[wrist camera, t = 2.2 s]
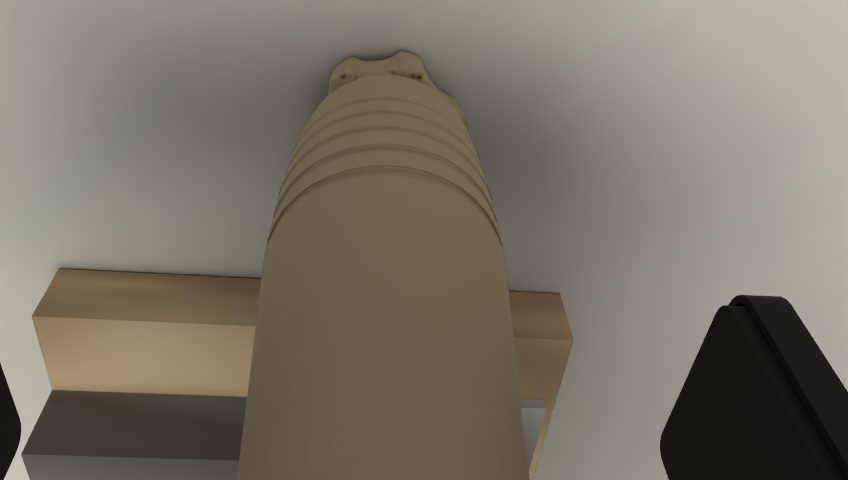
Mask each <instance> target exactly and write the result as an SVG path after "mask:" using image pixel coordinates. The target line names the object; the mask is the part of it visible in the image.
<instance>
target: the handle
mask: <svg viewBox="0 0 848 480" xmlns="http://www.w3.org/2000/svg"><path fill="white" fill-rule="evenodd" d="M328 88H329V91H328V94H327V97H326V98H325V99H324V100H323V101H322V102H321V103H320V104H319V105H318V106H317V108H316V109H315V111H314V113H313V115H312V116H311V118H310V119H309V121H308V123H307V124H306V126H305V127H304V129H303V131H302V133H301V135H300V138H299V140H298V142H297V144H296V147H295V149H294V152H293V154H292V157H291V160H290V163H289V165H288V168H287V171H286V174H285V178H284V180H283V183H282V186H281V189H280V192H279V197H278V200H277V204H276V208H275V212H274V217H273V222H272V225H271V230H270V234H269V238H268V244H267V248H266V252H265V257H264V262H263V269H262V278H261V286H260V294H259V303H258V311H257V319H256V327H255V336H254V344H253V352H252V361H251V369H250V377H249V386H248V394H247V402H246V411H245V419H244V427H243V435H242V442H241V450H240V457H239V465H238V472H237V480H530V478H529V470H528V461H527V453H526V445H525V436H524V428H523V419H522V409H521V400H520V391H519V382H518V373H517V363H516V354H515V345H514V336H513V327H512V317H511V308H510V299H509V290H508V281H507V271H506V264H505V258H504V252H503V249H502V243H501V238H500V234H499V230H498V226H497V221H496V216H495V212H494V207H493V204H492V200H491V195H490V192H489V189H488V186H487V183H486V179H485V176H484V173H483V170H482V167H481V164H480V160H479V157H478V155H477V152H476V149H475V147H474V144H473V142H472V139H471V137H470V134H469V132H468V130H467V125H466V121H465V119H464V116H463V114H462V111H461V109H460V107H459V105H458V103H457V102H456V100H455V98H454V97H453V96H451V95H448V94H445V93H443V92H442V91H441V90H439V89H438V88H437V87H436V86H435V85H434V84H433V83H432V81H431V80H430V78H429V77H428V75H427V73H426V71H425V68H424V65H423V62H422V60H421V58H420V57H419V56H416V55H414V54H412V53H408V52H404V51H400V52H398V53H397V54H396V55H395V56H392V57H390V58H387V59H383V60H378V61H364V60H359V59H358V58H355V57H350V58H348V59H347V60H345V61H343V62H342V63H341V64H339V65H338V66H337V67H336V68H335V70H334V71H333V73H332V75H331V78H330V81H329V84H328Z"/></svg>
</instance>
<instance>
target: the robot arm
mask: <svg viewBox="0 0 848 480" xmlns="http://www.w3.org/2000/svg"><path fill="white" fill-rule="evenodd" d="M20 437H21V423H20V418H19V415H18V413H17V410H16V407H15V404H14V401H13V398H12V395H11V393H10V390H9V387H8V384H7V381H6V378H5V375H4V373H3V370H2V367H1V364H0V480H4V478H5V475H6V473H7V471H8V469H9V467H10V464H11V462H12V460H13V458H14V456H15V453H16V451H17V448H18V446H19V442H20ZM660 452H661V458H662V461H663V464H664V467H665V470H666V473H667V475H668V478H669V480H848V392H847V390H846V388H845V387H844V385H843V384H842V382H841V381H840V379H839V378H838V376H837V375H836V373H835V372H834V370H833V368H832V367H831V365H830V364H829V362H828V361H827V359H826V358H825V356H824V355H823V353H822V352H821V350H820V348H819V347H818V345H817V344H816V342H815V341H814V339H813V338H812V336H811V335H810V333H809V331H808V330H807V328H806V327H805V325H804V324H803V322H802V321H801V319H800V318H799V316H798V315H797V313H796V311H795V310H794V308H793V307H792V305H791V304H790V303H789V302H788V301H787V300H786V299H784V298H782V297H775V296H750V295H739V296H736V297H735V298H733V299H732V300H731V302H730V303H729V305H728V306H722V307H720V308H719V309H718V311H717V312H716V314H715V317H714V319H713V321H712V323H711V326H710V328H709V330H708V332H707V334H706V337H705V339H704V341H703V343H702V345H701V348H700V350H699V352H698V354H697V357H696V359H695V361H694V363H693V365H692V368H691V370H690V372H689V374H688V377H687V379H686V381H685V383H684V385H683V388H682V390H681V392H680V394H679V397H678V399H677V401H676V403H675V405H674V408H673V410H672V412H671V414H670V416H669V419H668V421H667V423H666V425H665V428H664V430H663V432H662V435H661V440H660Z"/></svg>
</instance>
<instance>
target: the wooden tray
mask: <svg viewBox="0 0 848 480" xmlns="http://www.w3.org/2000/svg"><path fill="white" fill-rule="evenodd" d="M260 286H261V279H253V278H233V277H212V276H192V275H172V274H152V273H132V272H112V271H92V270H72V269H59V270H58V271H57V273H56V275H55V277H54V278H53V280H52V282H51V284H50V285H49V287H48V289H47V291H46V292H45V294H44V296H43V298H42V299H41V301H40V303H39V305H38V306H37V308H36V310H35V312H34V313H33V315H32V319H33V323H34V326H35V330H36V333H37V337H38V340H39V344H40V348H41V351H42V355H43V358H44V362H45V365H46V369H47V372H48V376H49V380H50V383H51V387H52V392H51V394H50V396H49V398H48V400H47V402H46V404H45V406H44V408H43V410H42V412H41V414H40V417H39V419H38V421H37V423H36V425H35V427H34V429H33V431H32V433H31V435H30V437H29V439H28V441H27V444H26V446H25V448H24V450H23V452H22V454H21V455H22V458H23V461H24V464H25V467H26V470H27V472H28V475H29V478H30V480H237V472H238V465H239V457H240V450H241V442H242V435H243V427H244V419H245V411H246V402H247V394H248V386H249V377H250V369H251V361H252V352H253V344H254V336H255V327H256V319H257V311H258V303H259V294H260ZM509 299H510V308H511V317H512V327H513V336H514V345H515V354H516V363H517V373H518V382H519V391H520V400H521V409H522V419H523V428H524V436H525V445H526V453H527V461H528V470H529V478H530V480H533V476H534V473H535V469H536V466H537V463H538V459H539V456H540V452H541V449H542V445H543V442H544V438H545V435H546V432H547V428H548V425H549V421H550V418H551V414H552V411H553V408H554V404H555V401H556V397H557V394H558V390H559V387H560V383H561V380H562V377H563V373H564V370H565V366H566V363H567V359H568V356H569V353H570V349H571V346H572V342H573V339H572V335H571V332H570V328H569V325H568V321H567V318H566V314H565V310H564V307H563V303H562V300H561V296H560V294H554V293H534V292H514V291H509Z"/></svg>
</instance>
